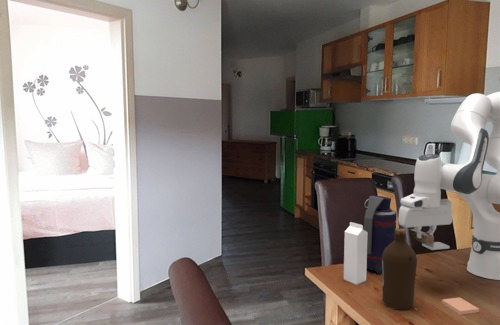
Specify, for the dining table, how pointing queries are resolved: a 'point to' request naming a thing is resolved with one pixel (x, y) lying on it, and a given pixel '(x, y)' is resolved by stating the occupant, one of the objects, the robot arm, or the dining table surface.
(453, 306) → the tile
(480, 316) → the dining table surface
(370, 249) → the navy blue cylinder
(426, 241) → the turner
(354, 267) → the milk
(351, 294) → the dining table surface
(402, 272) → the olive oil
